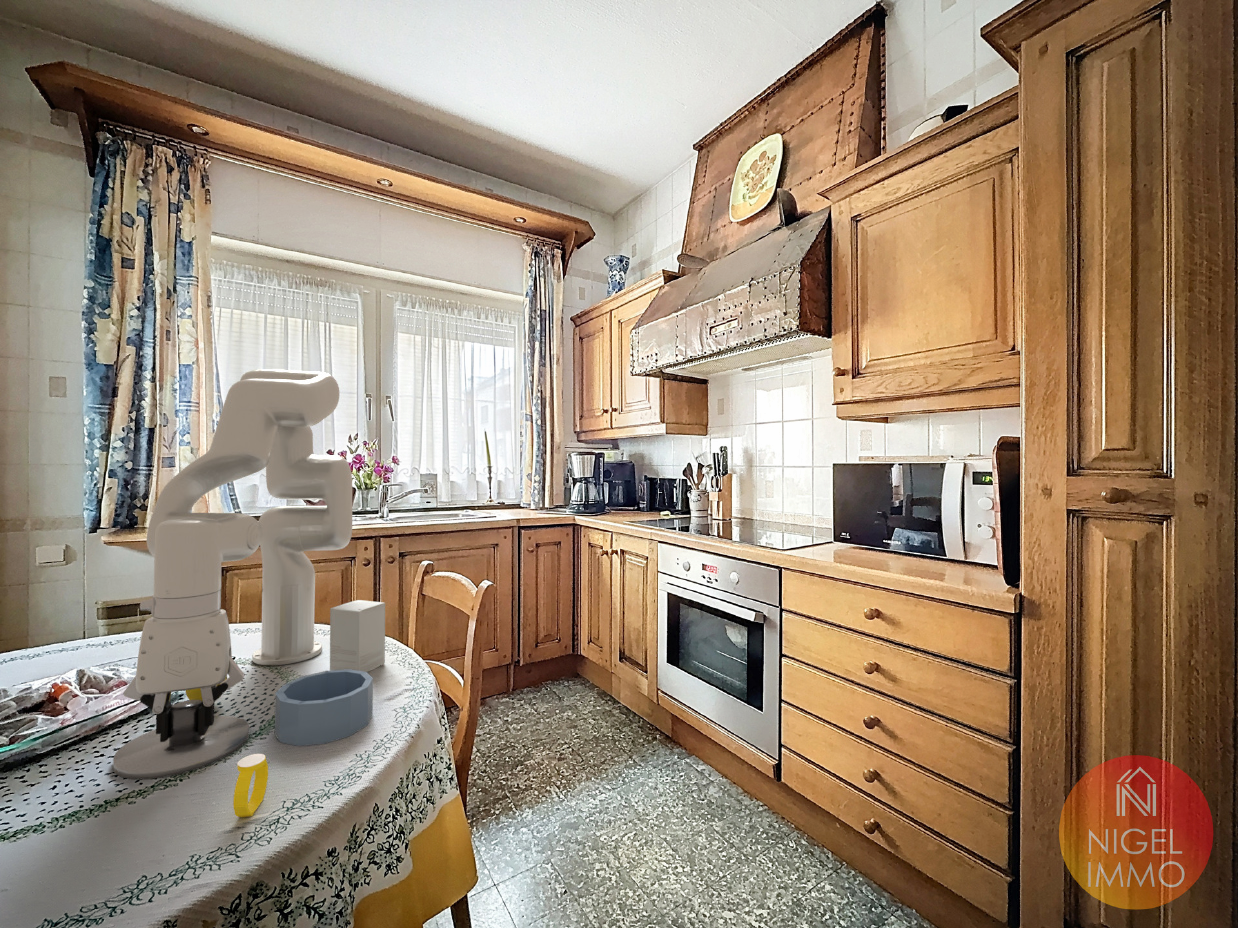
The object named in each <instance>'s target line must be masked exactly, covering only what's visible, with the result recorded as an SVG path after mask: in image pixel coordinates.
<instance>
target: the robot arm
mask: <svg viewBox="0 0 1238 928" xmlns="http://www.w3.org/2000/svg"><path fill="white" fill-rule="evenodd" d="M339 401H340V387H339V384H338V381H337V380H336V379H335V377H334V376H332V375H331V374H330V373H326V372H322V371H308V370H306V371H305V370H304V371H303V370H289V369H288V370H286V369H257V370H256V369H254V370H249V371H248V372H245V373H244V374H242V376H241V377H240V380H239V381H237V382H235V383H233V384H232V385H231V387H230V388H229V389H228V391H227V395H226V398H225V401H224V403H223V407H222V408H221V409H222V410H221V413H220V414H219V415H220V416H219V419H218V423H217V425H216V428H215V431H214V435H213V438H212V442H211V445H210V447H209V449H208V450H207V452H206V453H204V454H203V455H201V456H199V457H198V458H197V459H195V460H193V461H192V462H191V463H189V464H188V465H187V466H185V467H184V468H183V469H181V470H180V471H179V472H178V473H177V474H176V475H175V476H173V477H172V478H171V479H170V481H169V480H168V482H167V483H166V484H165V486H164V487H163V489H162V490H161V491H160V494H159V495H158V497H157V499H156V502H155V506H154V509H153V510H152V511H153V512H152V514H151V516H150V520H149V524H148V527H147V532H146V546H147V550H148V552H149V553H150V555H151V556H152V557H154V562H153V563H154V565H153V566H154V570H153V571H154V572H153V573H154V574H153V596H152V597H151V598H149V599H148V600H141V601H140V604H139V610H140V611H148V612H150V613H151V617H149V618H147V619H146V620H145V621H144V625H143V628H142V632H141V637H140V642H139V648H138V655H137V664H136V673H135V676H134V677H133V678H132V680H131V682H130V683H129V684H128V686H127V687H126V688H125V689H124V691H123V693H122V695H123V697H126V698H130V699H132V700H135V701H139V702H140V703H141V704H143V705H144V706H146V707H148V708H149V709H151V711H152V713H153V714H154V715H155V714H156V715H155V716H156V717H155V721H156V722H155V729H156V734H160V742H165V741H166V740H168V739H169V723H170V707H171V706H173V705H174V704H173V703H172V702H171V696H172V693H173V692H174V693H175V692H180V691H181V692H182V691H185V690H190V689H198V688H201V694H202V700H203V701H202V705H201V706H200V708H199V710H198V735H200V736H202V735H205V733H206V731H207V730H208V728H209V726H212V725H213V723H214V716H215V702H216V701H217V700H218V698H219V697H220V696H221V695H222V696H223V694H224V693H225V692H227V691H228V690H229V689H232V688H233V687H234V686H235V685H238V684H239V683H240V682H242V681H243V679H244V677H245V673H244V671H243V670H242V669H241V668H240V667H239V665H238V664H237V663H236V661H235V660H234V659H233V657H232V656H233V653H232V639H231V631H230V623H229V619H228V615H227V611H226V610H225V609H221V608H222V607H221V605H222V602H221V601H222V599H221V598H222V597H221V596H222V563H225V562H236V561H237V562H238V561H242V560H244V559H247V558H249V557H250V556H252V555H253V554H254V553H256V551H257V550H258V549H259V547H260V551H261V552H260V553H261V560H262V561H261V564H262V566H261V567H262V584H261V585H262V586H261V587H262V589H261V648H259V649H257V650H255V651H254V653H252V655H251V656H252V657H251V661H252V662H253V663H255V664H256V665H260V666H282V665H290V664H295V663H300V662H303V661H306V660H309V659H311V658H312V659H313V658H315V657H316V656H318V655H320V654H321V652H322V651H323V644H322V643H320V642H319V641H317V640H316V641H315V605H316V604H315V598H316V597H315V595H316V589H315V588H316V570H315V567H314V565H313V562H311V559H309V557H308V556H307V555H306V553H304V552H312V551H315V552H316V551H317V552H319V551H338V550H342V549H344V548H346V547H348V545H349V543H350V541H351V539H352V534H353V475H352V470H351V467H350V464H349V462H348V461H347V460H346V459H345V458H344V457H341V456H337V455H326V454H318V455H317V454H315V453H314V437H313V436H314V434H313V430H312V426H316V425H317V424H319V423H321V422H322V421H323V420H325V419H326V418H328V417H329V416H330V415H331V414H332V413H333V412H334V411H335V410H336V409H337V407H338V404H339ZM264 469H265V479H266V480H265V482H266V488H267V490H268V491H267V492H268V493H269V495H271V497H273V498H276V499H279V500H280V499H281V500H291V501H292V500H295V501H296V500H297V501H298V500H306V501H309V500H312V501H313V500H314V501H315V500H316V501H319V500H321V501H324V503H325V505H280V506H275V507H272V508H269V509H267V510H265V511H264V512H263V513H262V514H261V515H260V517H259V519H257V518H255V517H254V516H252V515H249V514H247V513H246V514H245V513H242V512H191V511H192V509H193V507H194V506H195V504H196V503H197V502H198V501H199V500H200V499H202V497H204V496H205V495H206V494H207V493H209V492H211V491H213V490H214V489H216V488H217V489H218V488H219V487H221V486H224V485H227V484H229V483H232V482H234V481H237V480H240V479H242V478H246V477H247V476H251V475H255V474H257V473H259V472H260V471H262V470H264ZM228 676H229V677H228ZM226 677H227V679H226V680H225V681H224V679H225V678H226ZM219 683H220V684H219ZM217 684H219V685H218V686H217ZM222 696H221V697H222ZM221 697H220V698H221ZM220 698H219V699H220Z"/></svg>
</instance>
